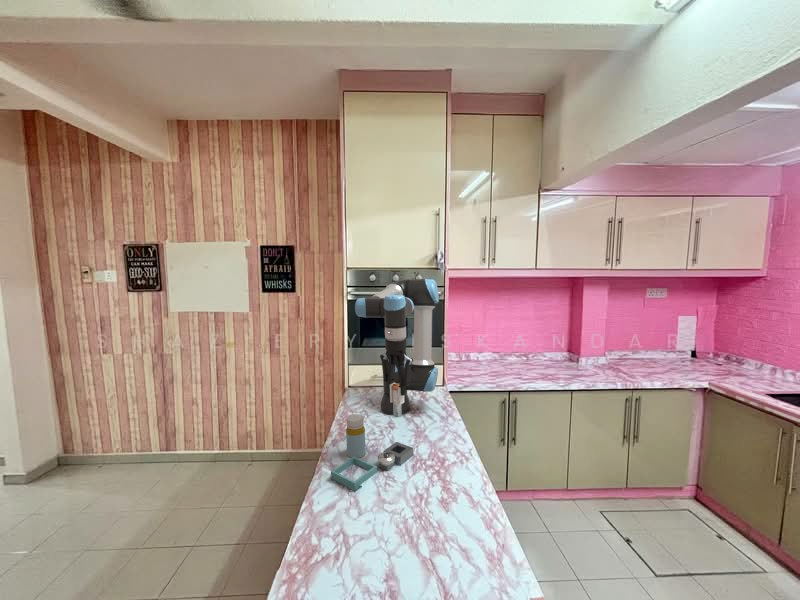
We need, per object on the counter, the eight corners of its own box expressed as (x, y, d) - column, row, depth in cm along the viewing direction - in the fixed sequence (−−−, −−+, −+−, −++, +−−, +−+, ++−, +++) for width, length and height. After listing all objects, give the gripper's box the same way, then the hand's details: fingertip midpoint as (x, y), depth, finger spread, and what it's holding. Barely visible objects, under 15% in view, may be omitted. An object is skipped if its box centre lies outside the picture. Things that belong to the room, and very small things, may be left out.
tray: (354, 464, 124) (353, 456, 123) (377, 474, 117) (377, 466, 117) (331, 479, 115) (330, 471, 115) (354, 492, 108) (354, 483, 108)
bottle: (362, 461, 125) (361, 422, 124) (344, 460, 126) (342, 421, 125) (368, 451, 132) (366, 414, 130) (350, 450, 133) (349, 413, 132)
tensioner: (390, 477, 116) (389, 461, 115) (372, 469, 120) (372, 454, 120) (413, 458, 127) (413, 444, 126) (396, 451, 131) (396, 438, 131)
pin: (396, 413, 126) (396, 382, 125) (403, 415, 125) (402, 384, 123) (391, 416, 124) (390, 385, 123) (398, 418, 122) (397, 386, 121)
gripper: (371, 338, 123) (373, 400, 126) (408, 343, 114) (409, 411, 116) (384, 334, 129) (386, 394, 132) (420, 339, 120) (421, 403, 122)
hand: (397, 402), depth 124 cm, fingers closed on pin, 3 cm apart
